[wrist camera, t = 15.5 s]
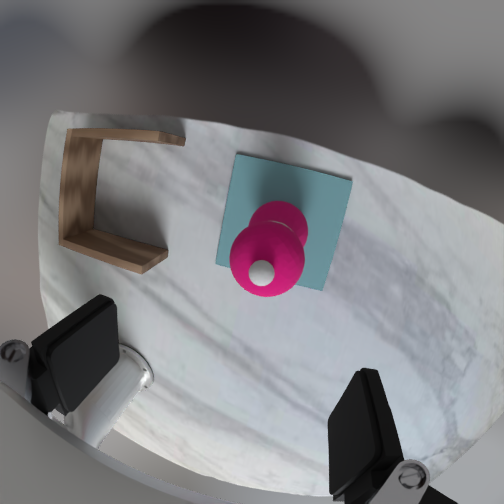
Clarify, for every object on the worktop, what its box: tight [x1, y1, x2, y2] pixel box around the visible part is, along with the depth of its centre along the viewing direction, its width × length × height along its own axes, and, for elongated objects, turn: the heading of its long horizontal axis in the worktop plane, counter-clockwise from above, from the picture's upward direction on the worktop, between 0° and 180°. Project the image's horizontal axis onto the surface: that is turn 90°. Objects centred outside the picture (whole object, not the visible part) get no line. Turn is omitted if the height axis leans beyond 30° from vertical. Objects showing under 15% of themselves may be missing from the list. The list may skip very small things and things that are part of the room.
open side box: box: [59, 128, 186, 274], centre depth 36 cm, size 18×17×8 cm
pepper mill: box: [229, 201, 308, 297], centre depth 27 cm, size 7×7×20 cm
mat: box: [216, 154, 353, 291], centre depth 37 cm, size 16×16×1 cm
